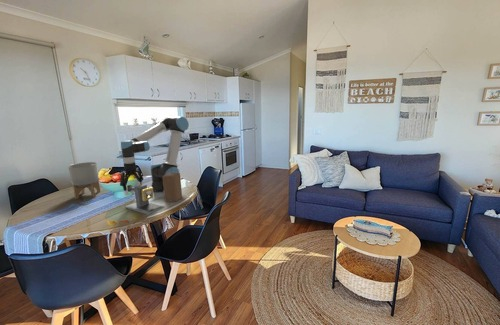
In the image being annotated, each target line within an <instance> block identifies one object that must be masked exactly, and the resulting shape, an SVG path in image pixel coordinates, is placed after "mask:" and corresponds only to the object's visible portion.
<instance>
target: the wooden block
mask: <svg viewBox="0 0 500 325" xmlns="http://www.w3.org/2000/svg"><path fill="white" fill-rule="evenodd" d="M162 178H163V187H164V191H163V195H164V201H165V202H178V201H179V200H181V198H183V192H182V190H183V189H182V183H181V173H180V172H179V173H168V174H166V175H164V176H163V177H162Z"/></svg>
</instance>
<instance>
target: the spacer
mask: <svg viewBox="0 0 500 325" xmlns="http://www.w3.org/2000/svg"><path fill="white" fill-rule="evenodd" d="M141 191H142V199H143V201H146V200H149V201H150V200H151V199H153V198H155V196H154V192H153V187H151V186H149V187H147V188H146V189H143V190H141ZM147 191H152V193H153V194H152V195H151V196H150V195H148V197H146V192H147Z"/></svg>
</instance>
